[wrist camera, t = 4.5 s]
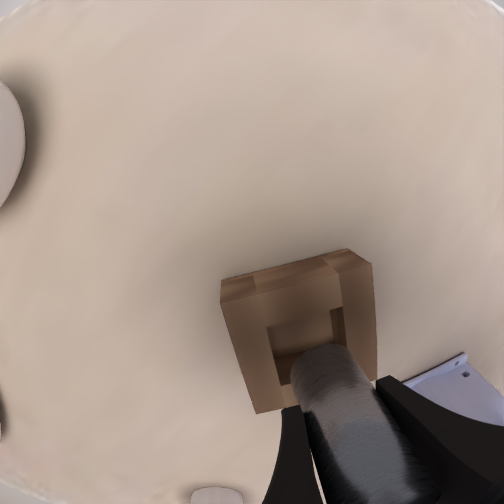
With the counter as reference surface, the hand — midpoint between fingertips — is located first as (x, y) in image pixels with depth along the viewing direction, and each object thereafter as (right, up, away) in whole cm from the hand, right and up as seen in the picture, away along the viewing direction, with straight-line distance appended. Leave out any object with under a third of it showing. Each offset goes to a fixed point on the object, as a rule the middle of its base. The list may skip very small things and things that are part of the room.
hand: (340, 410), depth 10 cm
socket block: (0, +2, +9) cm, 9 cm away
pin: (0, +1, +2) cm, 3 cm away
